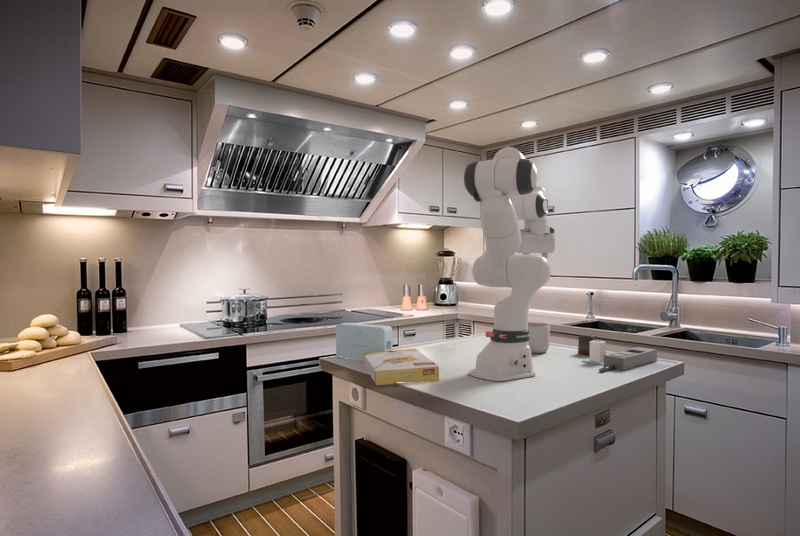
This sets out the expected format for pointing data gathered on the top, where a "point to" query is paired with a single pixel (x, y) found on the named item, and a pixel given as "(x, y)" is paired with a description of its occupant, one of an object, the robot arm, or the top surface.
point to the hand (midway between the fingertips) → (535, 264)
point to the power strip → (629, 358)
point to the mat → (593, 362)
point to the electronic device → (585, 344)
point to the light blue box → (362, 339)
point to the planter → (539, 337)
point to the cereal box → (400, 367)
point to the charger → (597, 350)
